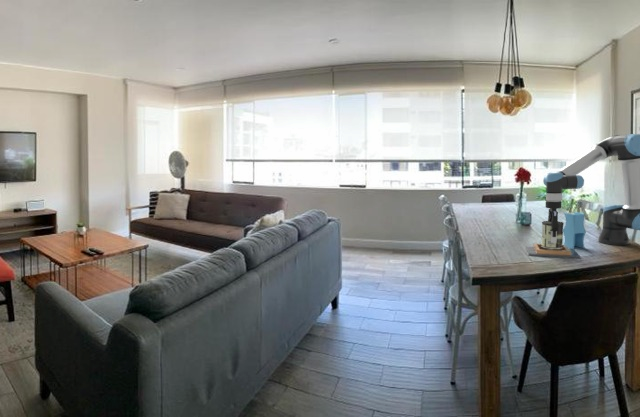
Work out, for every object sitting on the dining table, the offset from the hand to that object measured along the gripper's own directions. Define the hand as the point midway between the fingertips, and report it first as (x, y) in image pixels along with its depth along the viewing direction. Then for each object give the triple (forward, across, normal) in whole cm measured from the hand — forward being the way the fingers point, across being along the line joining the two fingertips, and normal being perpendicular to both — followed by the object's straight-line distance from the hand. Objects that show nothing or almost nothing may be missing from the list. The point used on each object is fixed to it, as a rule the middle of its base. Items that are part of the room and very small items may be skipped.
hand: (551, 240), depth 220 cm
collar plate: (+7, 0, 0) cm, 7 cm away
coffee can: (+4, 0, 0) cm, 4 cm away
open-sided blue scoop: (+7, -19, +14) cm, 25 cm away
